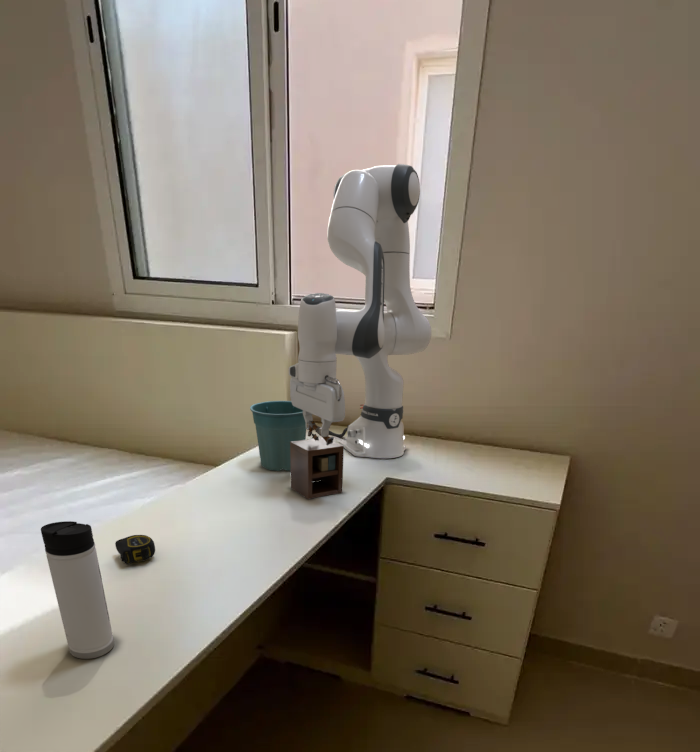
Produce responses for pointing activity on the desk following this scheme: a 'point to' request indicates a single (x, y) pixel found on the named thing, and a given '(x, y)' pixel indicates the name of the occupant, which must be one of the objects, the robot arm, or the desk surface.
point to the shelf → (316, 467)
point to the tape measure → (135, 548)
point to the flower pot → (277, 432)
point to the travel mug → (78, 588)
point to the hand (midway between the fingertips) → (316, 432)
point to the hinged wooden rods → (313, 425)
